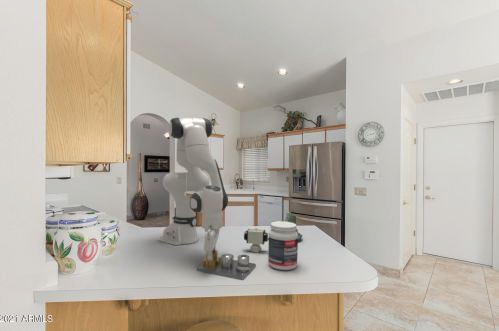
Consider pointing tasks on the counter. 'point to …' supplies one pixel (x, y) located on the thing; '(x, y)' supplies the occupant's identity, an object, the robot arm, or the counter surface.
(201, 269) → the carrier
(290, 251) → the supplement tub
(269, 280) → the counter surface
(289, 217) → the tree stump
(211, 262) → the gear
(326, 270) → the counter surface
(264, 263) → the counter surface
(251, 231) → the pneumatic valve
